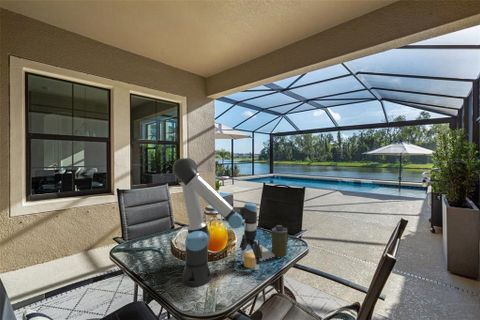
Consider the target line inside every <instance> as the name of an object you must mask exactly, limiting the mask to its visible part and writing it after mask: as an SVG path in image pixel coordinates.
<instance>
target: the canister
mask: <svg viewBox="0 0 480 320" xmlns="http://www.w3.org/2000/svg"><path fill="white" fill-rule="evenodd" d="M288 232H289V229H288V228H287V227H284V226H283V225H281V224H278V225H275V226H274V227H273V228H271V251H272V253H273V254H275V257H284V256H286V255H287V254H288V251H287V250H288V241H289V239H288V238H289V237H288V236H289V235H288V234H289V233H288ZM287 256H288V255H287ZM275 257H274V258H275Z"/></svg>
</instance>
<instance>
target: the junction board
mask: <svg viewBox="0 0 480 320" xmlns="http://www.w3.org/2000/svg"><path fill="white" fill-rule="evenodd" d="M259 246H260V250H261V254H262V258H261V259H260V261H261V262H264V261H267V260H266V259H268V260H270V259H269V258H271V259H273V258H272V257H274V258H275V254H273V253H272V250H270V249H269V248H266V247H264V246H263V245H261V244H259ZM246 253H254V252H253V249H252V248H251V249H249V250H246ZM263 260H264V261H263Z"/></svg>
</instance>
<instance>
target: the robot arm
mask: <svg viewBox="0 0 480 320" xmlns="http://www.w3.org/2000/svg"><path fill="white" fill-rule="evenodd" d="M172 174H173V175H174V177H175V178H176V179H177V182H178V184H179V185H180V186H181V188H182V194H183V199H184V204H185V208H186V209H185V210H186V214H187V220H188V224H189V225H188V226H187V227H186V229H187V233H188V234H186V236H185V242H184V244H185V262H184V264H185V265H184V267H183V272H182V274H181V282H182V284H184V285H185V286H188V287H200V286H203V285H206V284H208V283H209V282H210V281H211V279H212V276H211V275H212V273H211V270H210V266H209V262H208V261H209V256H208V255H209V253H208V252H209V251H208V250H209V244H210V243H209V242H210V239H211V238H210V237H211V233H210V231H209V228H208V223H207V222H205V221H204V215H203V210H202V204H201V199H200V198H202V200H204V202H206V203H207V204H208V205H209V206H210V207H211V208H212V209H213V210H214V211H216V213H218V214H219V216H221V217H222V218H223V219H224V220H225V221H226V222H227V223H228V226H229V227H230V228H231V229H235V230H236V229H239V228H241V227H242V225H243V234H242V237H241V240H240V244H239V248H240V249H241V261H242V262H244V254H246V251H247V247H248V246H250V248H251V249H253V252H254V255H255V267H254V271H257V270H260V262H259V261H260V259H261V258H262V254H261V250H260V246H259V245H260V240H259V239H258V240H256V237H257V233H258V230H257V227H258V226H257V220H258V218H257V217H258V209H257V204H256V203H254V202H246V203H244V206H232V205H231V204H230V203H229V202H228V201H227V200H226V199H225V198H224V197H222V195H220V193H218V192H217V191H216V190H215V189H214V188H213V187H212V186H211V185H210V184H209V183H208V182H207V181H206V180H205V179H204V178H203V177H201V176H200V172H199V171H198V165H197V162H195V160H194V159H192V158H188V157H186V158H185V157H184V158H183V157H181V158H179V159H176V160H175V162H174V163H173V165H172ZM243 221H244V224H243Z"/></svg>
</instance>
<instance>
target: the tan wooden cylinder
mask: <svg viewBox="0 0 480 320" xmlns="http://www.w3.org/2000/svg"><path fill="white" fill-rule="evenodd" d="M243 266H244V267H246V268H248V269H253V268H255V255H254V253H246V254H244V261H243Z"/></svg>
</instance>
